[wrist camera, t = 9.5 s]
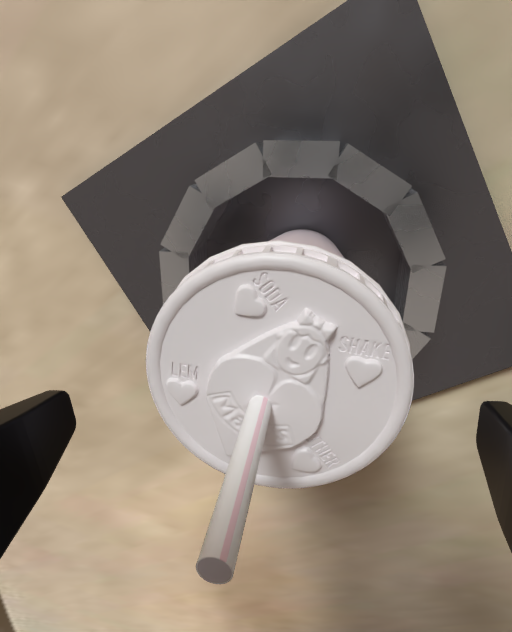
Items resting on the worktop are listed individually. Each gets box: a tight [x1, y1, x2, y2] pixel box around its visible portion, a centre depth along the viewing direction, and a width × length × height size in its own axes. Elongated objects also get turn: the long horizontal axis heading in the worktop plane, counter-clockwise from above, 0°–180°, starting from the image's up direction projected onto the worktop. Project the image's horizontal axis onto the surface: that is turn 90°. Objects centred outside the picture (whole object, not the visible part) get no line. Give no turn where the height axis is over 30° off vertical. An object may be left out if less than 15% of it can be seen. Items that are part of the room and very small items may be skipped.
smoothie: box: [146, 229, 414, 584], centre depth 12 cm, size 6×6×14 cm
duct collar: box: [62, 0, 512, 400], centre depth 18 cm, size 16×16×3 cm
